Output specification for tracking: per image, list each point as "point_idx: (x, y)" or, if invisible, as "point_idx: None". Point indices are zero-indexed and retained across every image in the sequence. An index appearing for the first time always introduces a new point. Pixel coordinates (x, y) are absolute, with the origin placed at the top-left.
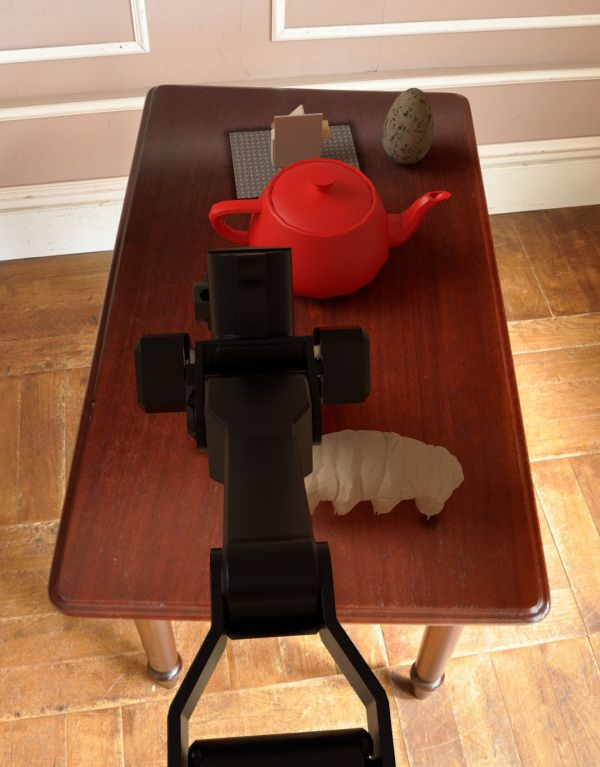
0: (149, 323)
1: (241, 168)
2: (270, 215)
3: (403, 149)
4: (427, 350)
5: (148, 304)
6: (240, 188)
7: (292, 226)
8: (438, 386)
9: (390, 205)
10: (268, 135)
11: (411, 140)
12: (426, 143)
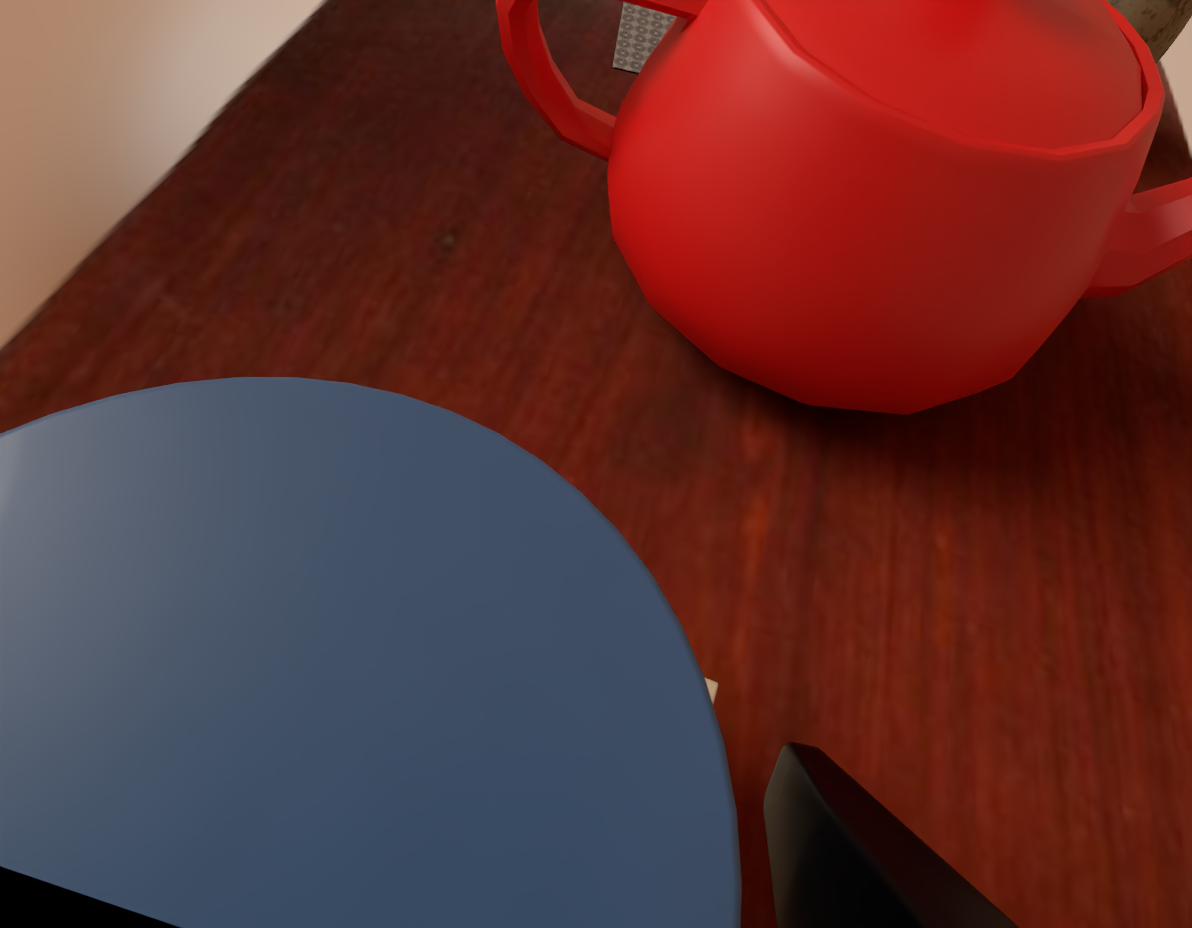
0: (200, 323)
1: (642, 9)
2: (736, 12)
3: None
4: (1127, 692)
5: (231, 261)
6: (626, 48)
7: (827, 68)
8: (1180, 875)
9: None
10: None
11: (1135, 25)
12: (1157, 54)
